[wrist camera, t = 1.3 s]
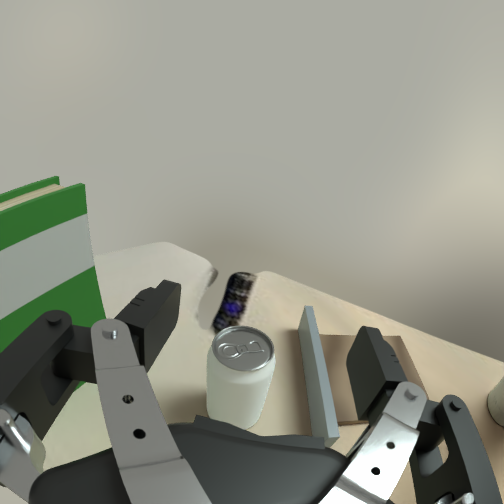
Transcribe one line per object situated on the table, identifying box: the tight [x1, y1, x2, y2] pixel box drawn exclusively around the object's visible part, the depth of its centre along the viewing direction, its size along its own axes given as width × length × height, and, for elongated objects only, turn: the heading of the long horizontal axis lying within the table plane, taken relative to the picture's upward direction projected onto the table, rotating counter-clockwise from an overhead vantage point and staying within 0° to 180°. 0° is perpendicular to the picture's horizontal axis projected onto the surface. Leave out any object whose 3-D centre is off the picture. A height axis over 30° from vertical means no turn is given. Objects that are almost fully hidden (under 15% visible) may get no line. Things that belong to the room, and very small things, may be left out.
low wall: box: [298, 306, 340, 448], centre depth 33 cm, size 1×22×5 cm, turn 179°
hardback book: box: [0, 176, 106, 391], centre depth 22 cm, size 18×7×24 cm, turn 153°
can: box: [207, 326, 275, 430], centre depth 27 cm, size 6×6×12 cm
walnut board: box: [319, 334, 429, 425], centre depth 36 cm, size 16×16×1 cm
